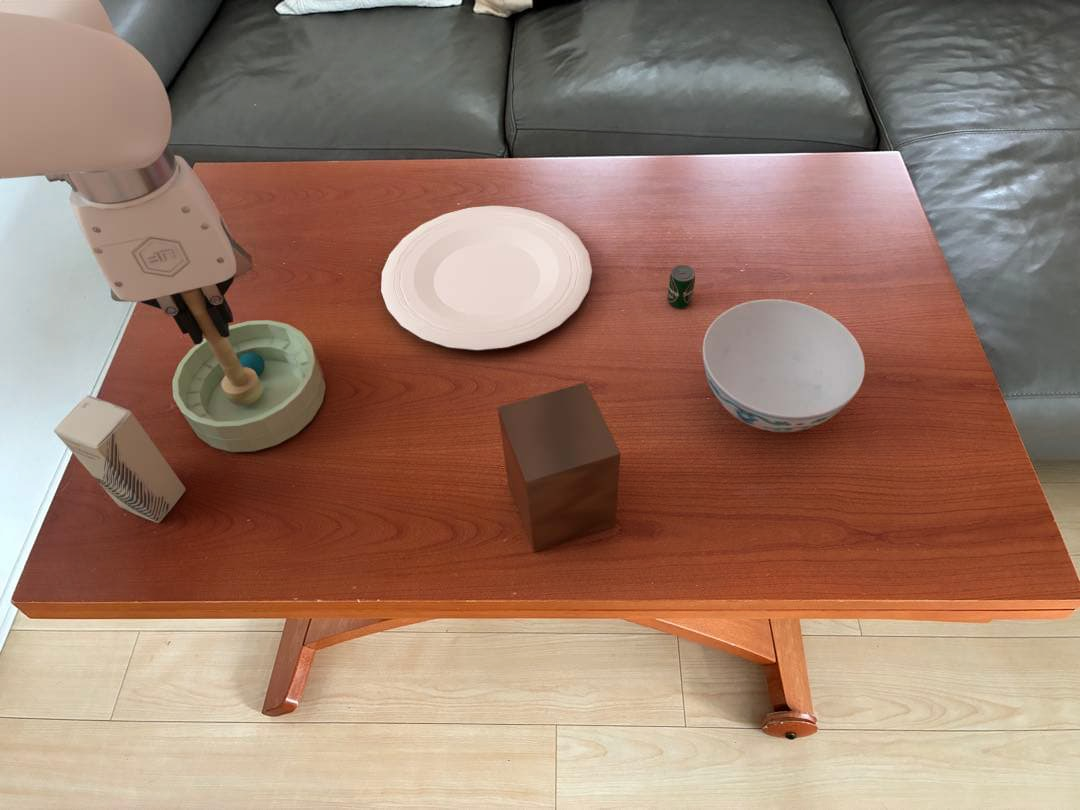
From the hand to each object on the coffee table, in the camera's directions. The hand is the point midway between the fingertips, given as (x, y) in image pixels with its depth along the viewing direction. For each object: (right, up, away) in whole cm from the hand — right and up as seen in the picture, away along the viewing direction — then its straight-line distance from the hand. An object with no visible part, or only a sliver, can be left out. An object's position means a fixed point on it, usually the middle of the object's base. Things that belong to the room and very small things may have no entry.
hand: (211, 329), depth 73 cm
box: (-6, -16, +2) cm, 18 cm away
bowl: (+1, -7, +9) cm, 11 cm away
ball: (0, -3, +10) cm, 10 cm away
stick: (0, -6, +8) cm, 10 cm away
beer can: (+47, +5, +16) cm, 50 cm away
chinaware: (+55, -7, +6) cm, 56 cm away
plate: (+25, +7, +19) cm, 32 cm away
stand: (+33, -17, 0) cm, 37 cm away
